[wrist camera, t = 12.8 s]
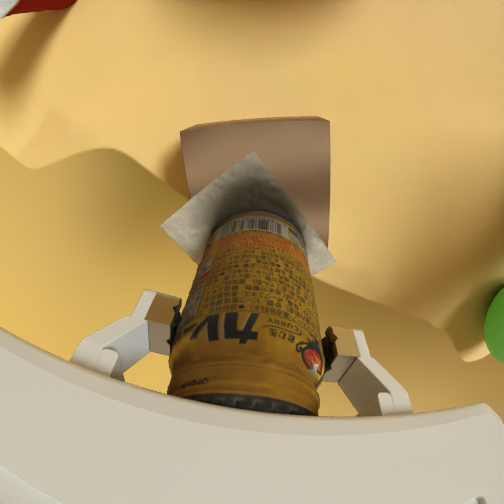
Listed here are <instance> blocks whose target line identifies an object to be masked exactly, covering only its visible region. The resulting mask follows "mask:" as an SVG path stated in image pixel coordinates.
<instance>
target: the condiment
mask: <svg viewBox="0 0 504 504" xmlns="http://www.w3.org/2000/svg"><path fill="white" fill-rule="evenodd" d="M160 226H161V228H162V229H164V230H165V232H166V233H167V234H168V235H169V236H170V237H171V238H172V239H173V240H174V241H175V242H176V243H177V244H178V245H179V247H180V248H181V249H182V250H183V251H185V252H186V253H187V254H188V255H189V256H190V258H191V259H192V260H193V261H194V262H196V263H197V264H198V265H199V266H198V268H197V273H196V276H195V279H194V280H193V284H192V288H191V290H190V292H189V296H188V299H187V301H186V305H185V307H184V309H183V311H182V315H181V318H180V321H179V324H178V327H177V330H176V334H175V337H174V340H173V342H172V346H171V350H170V354H169V361H168V362H169V368H170V371H171V375H172V377H171V381H170V384H169V386H168V390H167V394H168V395H172V396H176V397H180V398H185V399H189V400H194V401H198V402H203V403H208V404H214V405H219V406H225V407H231V408H237V409H244V410H251V411H259V412H267V413H277V414H289V415H303V416H318V410H319V407H320V399H319V394H318V393H317V390H318V388H319V386H320V385H321V383H322V380H323V376H324V370H325V358H324V356H323V348H322V342H321V335H320V328H319V322H318V315H317V308H316V303H315V297H314V291H313V286H312V279H311V276H312V275H314V274H316V273H318V272H319V271H321V270H323V269H325V268H326V267H328V266H330V265H332V264H333V263H335V262H336V260H335V259H334V257H333V256H332V254H331V253H330V251H329V250H328V248H327V247H326V246H325V244H324V243H323V241H322V240H321V238H320V237H319V236H318V234H317V233H316V231H315V230H314V229H313V227H312V226H311V224H310V223H309V222H308V220H307V219H306V218H305V216H304V215H303V214H302V212H301V211H300V209H299V208H298V207H297V206H296V205H295V203H294V202H293V201H292V199H291V198H290V197H289V195H288V194H287V192H286V191H285V190H284V189H283V187H282V186H281V185H280V183H279V182H278V181H277V179H276V178H275V177H274V176H273V174H272V173H271V172H270V171H269V170H268V168H267V167H266V166H265V165H264V163H263V162H262V161H261V159H260V158H259V157H258V156H257V155H256V153H255V152H254V151H253V152H252V153H250V154H249V155H247V156H246V157H245V158H243V159H242V160H241V161H239V162H238V163H236V164H235V165H234V166H232V167H231V168H230V169H228V170H227V171H226V172H224V173H223V174H222V175H221V176H219V177H218V178H216V179H215V180H214V181H213V182H212V183H210V184H209V185H208V186H207V187H205V188H204V189H203V190H202V191H200V192H199V193H198V194H196V195H195V196H194V197H193V198H192V199H190V200H189V201H188V202H187V203H186V204H185V205H184V206H182V207H181V208H180V209H179V210H177V211H176V212H175V213H174V214H173V215H172V216H170V217H169V218H168V219H167V220H166V221H165V222H164V223H162V224H161V225H160Z"/></svg>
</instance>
